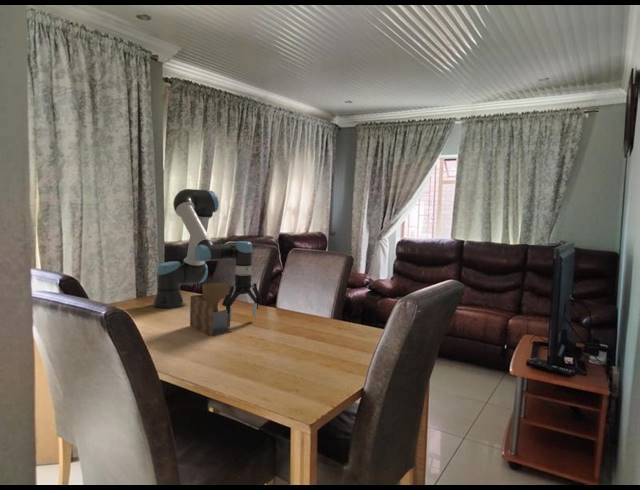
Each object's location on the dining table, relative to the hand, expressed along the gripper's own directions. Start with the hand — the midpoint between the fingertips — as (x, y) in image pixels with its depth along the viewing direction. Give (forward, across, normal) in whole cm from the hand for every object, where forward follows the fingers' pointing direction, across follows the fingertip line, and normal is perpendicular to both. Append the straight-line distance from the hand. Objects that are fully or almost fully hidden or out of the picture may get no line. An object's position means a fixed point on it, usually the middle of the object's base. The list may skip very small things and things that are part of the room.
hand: (242, 318), depth 196 cm
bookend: (+2, -15, -7) cm, 17 cm away
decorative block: (+2, -13, 0) cm, 13 cm away
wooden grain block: (+2, -16, 0) cm, 16 cm away
